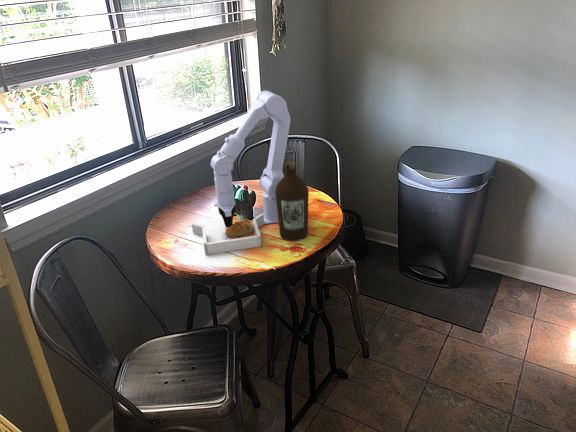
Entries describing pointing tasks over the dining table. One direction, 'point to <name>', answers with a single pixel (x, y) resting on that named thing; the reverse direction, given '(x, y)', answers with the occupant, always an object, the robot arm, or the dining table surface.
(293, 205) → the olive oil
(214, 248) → the box
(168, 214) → the dining table surface
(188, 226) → the dining table surface
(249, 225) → the pastry
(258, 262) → the dining table surface
